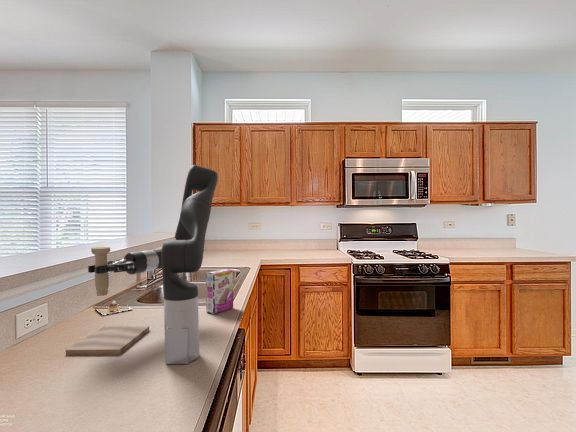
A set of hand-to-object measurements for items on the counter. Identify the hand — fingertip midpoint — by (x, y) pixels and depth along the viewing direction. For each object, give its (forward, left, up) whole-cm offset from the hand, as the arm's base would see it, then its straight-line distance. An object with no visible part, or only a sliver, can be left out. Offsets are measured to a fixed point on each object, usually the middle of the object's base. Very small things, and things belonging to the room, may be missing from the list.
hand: (92, 269), depth 107 cm
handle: (+3, -1, -9) cm, 9 cm away
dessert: (+39, +15, -24) cm, 48 cm away
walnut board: (+3, -3, -24) cm, 24 cm away
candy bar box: (+37, -31, -24) cm, 54 cm away
